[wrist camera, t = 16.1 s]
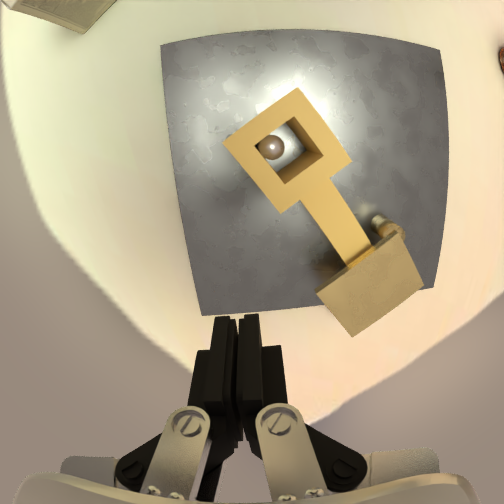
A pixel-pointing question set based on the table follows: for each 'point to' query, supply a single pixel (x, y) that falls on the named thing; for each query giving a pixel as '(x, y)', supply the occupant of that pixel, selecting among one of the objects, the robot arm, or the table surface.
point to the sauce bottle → (502, 58)
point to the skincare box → (63, 11)
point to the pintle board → (289, 148)
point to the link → (302, 170)
